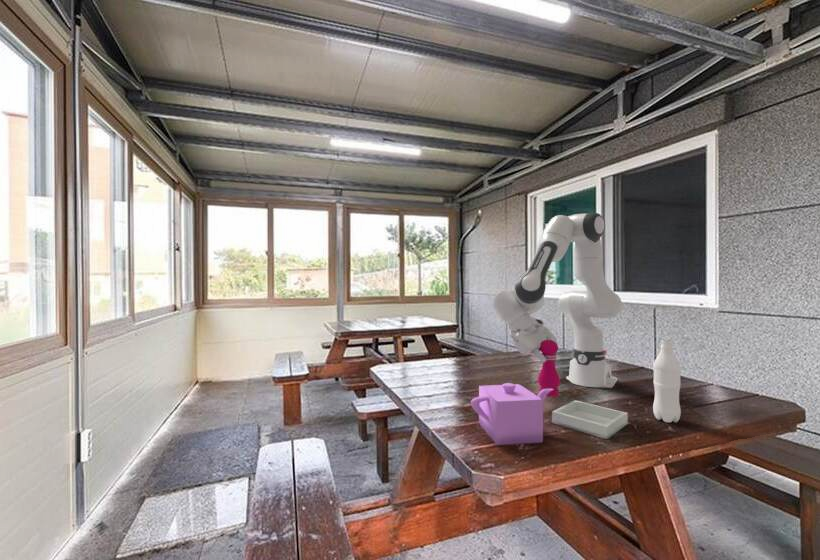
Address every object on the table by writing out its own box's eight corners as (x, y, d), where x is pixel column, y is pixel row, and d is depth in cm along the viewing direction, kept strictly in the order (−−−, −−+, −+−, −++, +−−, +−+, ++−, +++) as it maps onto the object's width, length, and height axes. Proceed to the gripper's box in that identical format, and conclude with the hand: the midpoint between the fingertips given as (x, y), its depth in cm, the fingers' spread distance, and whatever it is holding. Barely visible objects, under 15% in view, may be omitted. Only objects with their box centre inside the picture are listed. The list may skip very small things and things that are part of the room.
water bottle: (685, 425, 114) (685, 342, 114) (659, 423, 115) (659, 341, 115) (673, 416, 121) (674, 338, 121) (649, 415, 122) (649, 338, 122)
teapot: (567, 441, 103) (567, 389, 103) (479, 446, 100) (479, 393, 100) (540, 420, 118) (540, 375, 118) (463, 424, 115) (463, 378, 115)
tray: (575, 410, 127) (575, 400, 126) (627, 424, 115) (627, 412, 115) (551, 422, 116) (551, 411, 116) (606, 439, 104) (606, 426, 104)
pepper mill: (560, 398, 124) (560, 337, 124) (537, 395, 127) (537, 336, 126) (560, 391, 131) (560, 334, 130) (538, 389, 133) (537, 333, 133)
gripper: (513, 325, 126) (540, 359, 119) (544, 319, 140) (570, 349, 133) (502, 337, 130) (528, 370, 123) (533, 330, 143) (558, 360, 136)
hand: (550, 359), depth 128 cm, fingers closed on pepper mill, 5 cm apart
